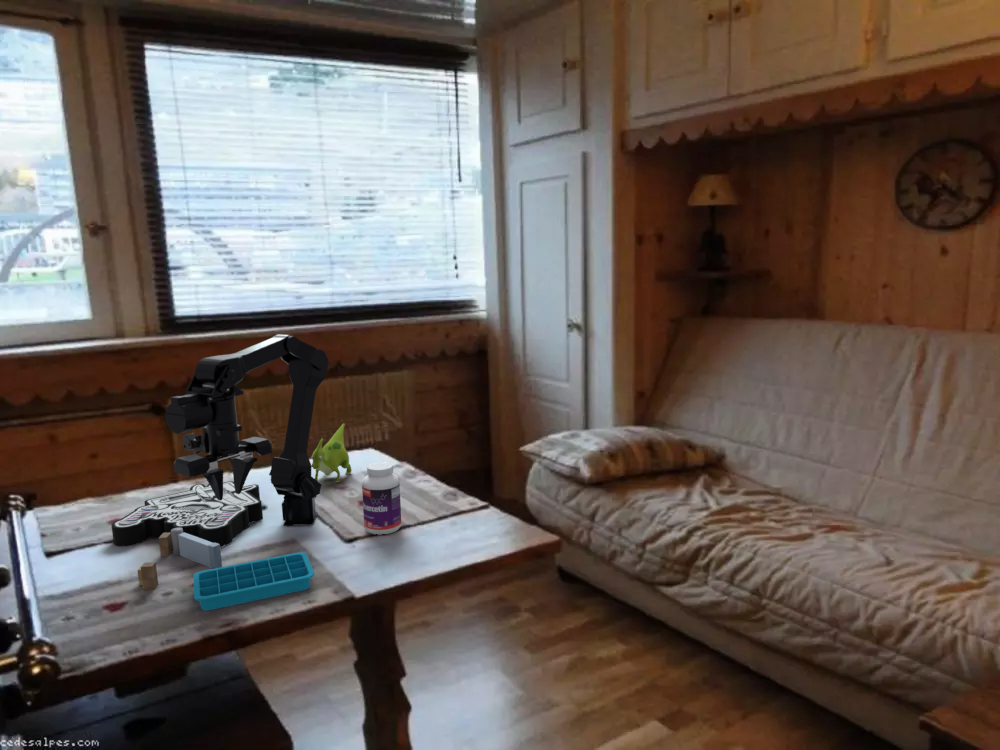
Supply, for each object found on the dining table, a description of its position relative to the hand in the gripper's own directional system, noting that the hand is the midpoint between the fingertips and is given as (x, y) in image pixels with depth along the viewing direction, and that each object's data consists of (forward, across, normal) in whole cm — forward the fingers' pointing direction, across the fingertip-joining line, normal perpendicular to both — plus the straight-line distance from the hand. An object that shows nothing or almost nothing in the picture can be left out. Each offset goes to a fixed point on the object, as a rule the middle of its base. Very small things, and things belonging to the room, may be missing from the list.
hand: (229, 496), depth 143 cm
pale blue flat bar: (+12, +6, -4) cm, 14 cm away
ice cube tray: (+13, +7, +16) cm, 22 cm away
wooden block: (+12, +17, -2) cm, 21 cm away
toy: (+12, -43, -18) cm, 48 cm away
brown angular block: (+12, +8, -12) cm, 18 cm away
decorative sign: (+13, -7, -22) cm, 27 cm away
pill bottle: (+12, -25, +18) cm, 33 cm away
